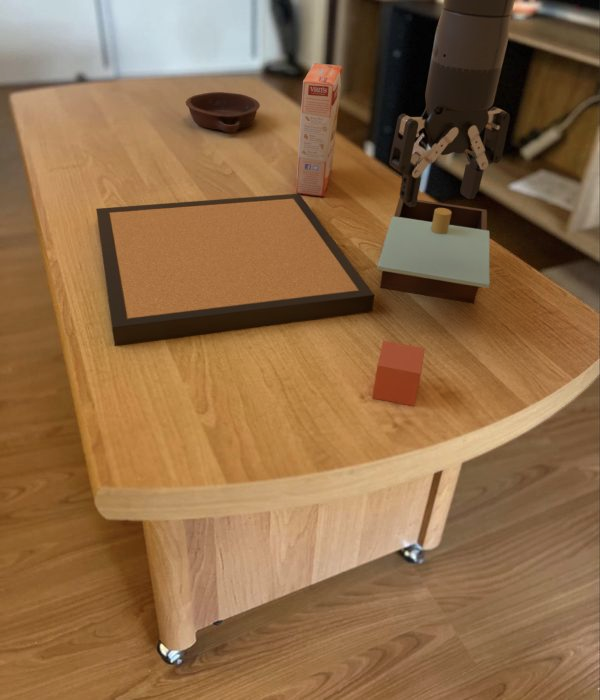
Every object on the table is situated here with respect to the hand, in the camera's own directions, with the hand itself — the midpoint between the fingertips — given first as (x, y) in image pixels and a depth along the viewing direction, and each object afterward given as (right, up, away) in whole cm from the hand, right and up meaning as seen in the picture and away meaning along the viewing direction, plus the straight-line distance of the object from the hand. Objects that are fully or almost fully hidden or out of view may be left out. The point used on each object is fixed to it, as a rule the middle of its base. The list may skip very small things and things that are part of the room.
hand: (438, 200), depth 77 cm
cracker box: (-14, +15, +49) cm, 53 cm away
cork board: (-29, -5, +21) cm, 36 cm away
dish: (-36, +36, +75) cm, 91 cm away
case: (+4, -6, +23) cm, 24 cm away
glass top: (+2, -5, +10) cm, 12 cm away
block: (-5, -23, -1) cm, 24 cm away
